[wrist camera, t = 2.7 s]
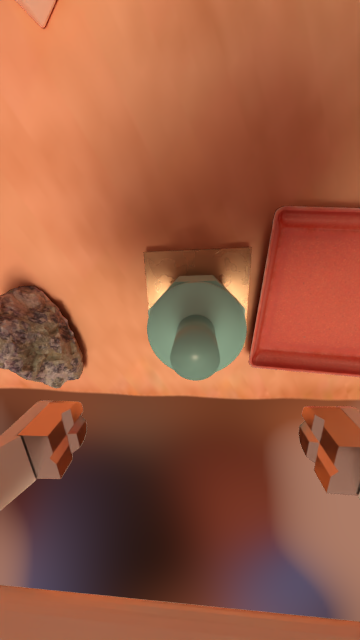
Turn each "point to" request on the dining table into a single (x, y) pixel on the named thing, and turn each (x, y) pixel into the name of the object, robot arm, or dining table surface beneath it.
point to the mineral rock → (37, 338)
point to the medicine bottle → (38, 9)
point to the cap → (197, 326)
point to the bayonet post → (199, 270)
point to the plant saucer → (310, 293)
